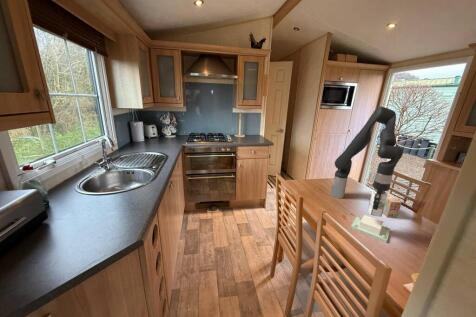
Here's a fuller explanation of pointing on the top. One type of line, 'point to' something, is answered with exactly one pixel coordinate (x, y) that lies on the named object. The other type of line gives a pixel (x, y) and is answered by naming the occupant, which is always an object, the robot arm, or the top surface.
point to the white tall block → (380, 206)
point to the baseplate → (380, 237)
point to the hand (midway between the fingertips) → (376, 206)
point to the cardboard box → (391, 206)
